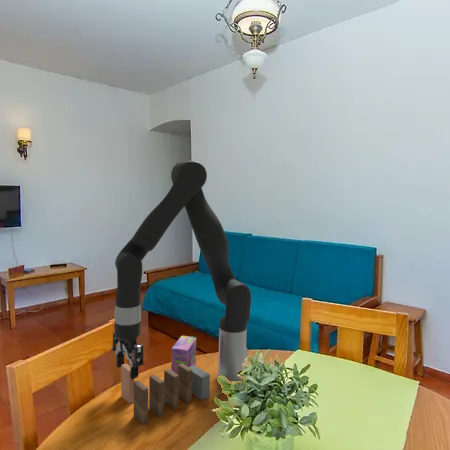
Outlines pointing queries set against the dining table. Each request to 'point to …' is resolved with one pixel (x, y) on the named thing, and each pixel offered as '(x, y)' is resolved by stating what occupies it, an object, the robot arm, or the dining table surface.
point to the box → (183, 352)
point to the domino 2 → (156, 395)
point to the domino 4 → (185, 383)
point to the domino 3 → (171, 388)
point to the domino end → (127, 384)
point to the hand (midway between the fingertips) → (127, 372)
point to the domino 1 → (141, 402)
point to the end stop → (200, 382)
